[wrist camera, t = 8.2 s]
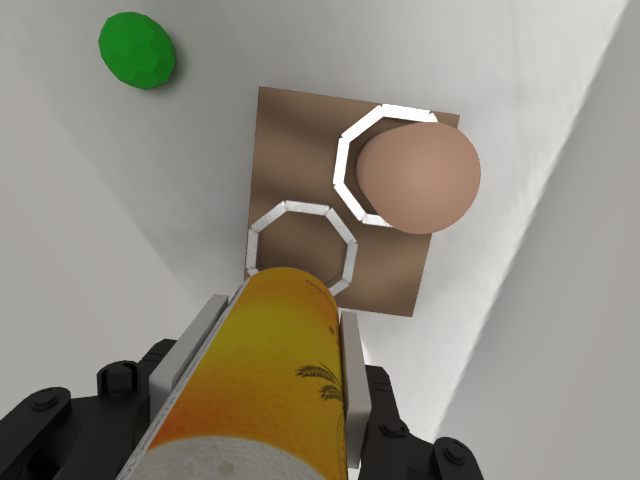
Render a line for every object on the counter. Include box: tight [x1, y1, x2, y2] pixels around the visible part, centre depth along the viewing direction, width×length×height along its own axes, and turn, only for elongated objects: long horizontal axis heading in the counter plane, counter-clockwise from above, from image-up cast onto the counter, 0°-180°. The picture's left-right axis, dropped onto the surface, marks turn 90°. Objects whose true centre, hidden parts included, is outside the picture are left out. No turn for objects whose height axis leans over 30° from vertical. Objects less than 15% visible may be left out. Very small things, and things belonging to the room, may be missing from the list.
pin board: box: [244, 86, 460, 317], centre depth 29 cm, size 18×16×2 cm
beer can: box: [116, 267, 348, 480], centre depth 12 cm, size 6×6×15 cm
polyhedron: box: [98, 12, 176, 90], centre depth 25 cm, size 5×5×5 cm
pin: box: [355, 121, 481, 234], centre depth 23 cm, size 6×6×10 cm
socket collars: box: [246, 104, 438, 296], centre depth 28 cm, size 17×16×2 cm
